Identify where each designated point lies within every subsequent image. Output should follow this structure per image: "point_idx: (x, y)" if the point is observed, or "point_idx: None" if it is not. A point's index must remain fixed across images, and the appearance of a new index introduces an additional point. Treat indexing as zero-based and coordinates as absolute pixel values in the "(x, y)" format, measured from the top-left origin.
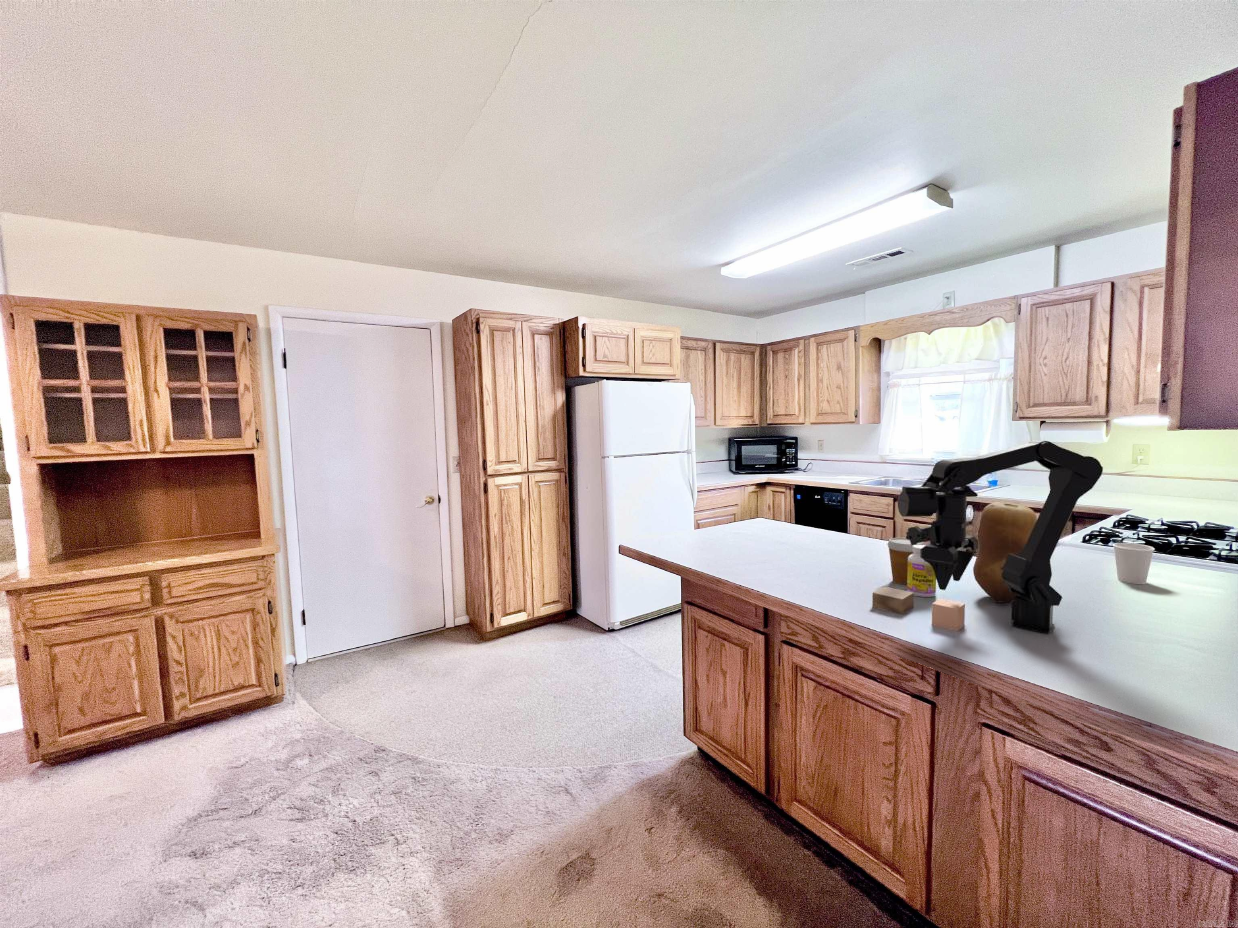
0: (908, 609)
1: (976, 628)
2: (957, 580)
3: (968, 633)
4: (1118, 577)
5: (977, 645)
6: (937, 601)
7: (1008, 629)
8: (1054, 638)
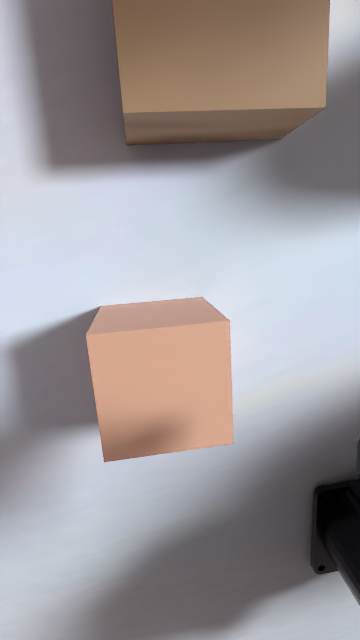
0: (212, 140)
1: None
2: (357, 466)
3: None
4: None
5: (21, 499)
6: (157, 335)
7: (274, 490)
8: (287, 583)
